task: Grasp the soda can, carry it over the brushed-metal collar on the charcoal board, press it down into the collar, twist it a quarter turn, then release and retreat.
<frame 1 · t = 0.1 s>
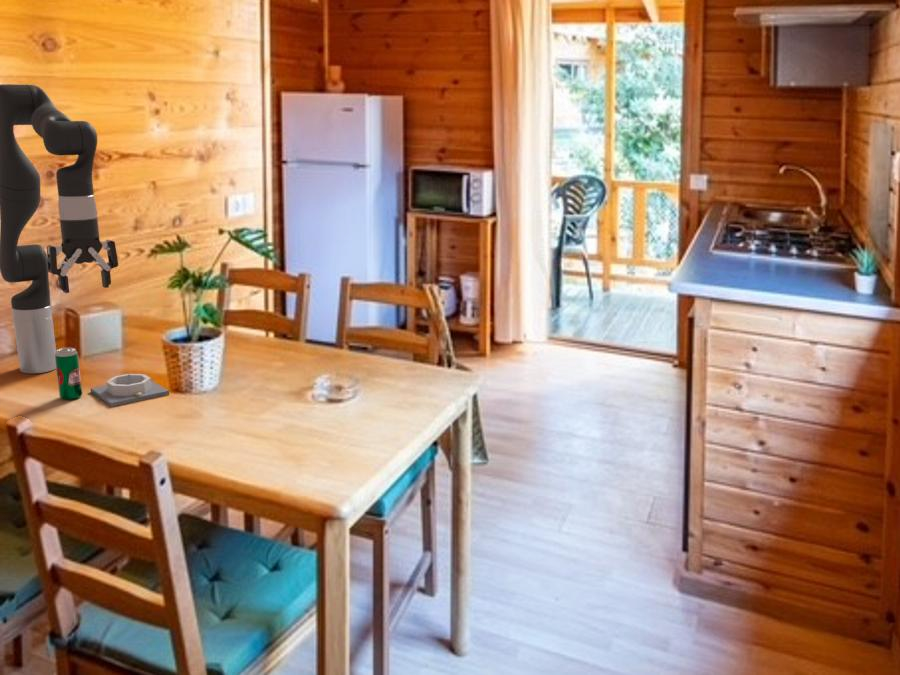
hand: (86, 289, 189), 29 cm above the table, fingers open, 8 cm apart
soda can: (71, 398, 207), on the table
lock board: (129, 393, 210), on the table
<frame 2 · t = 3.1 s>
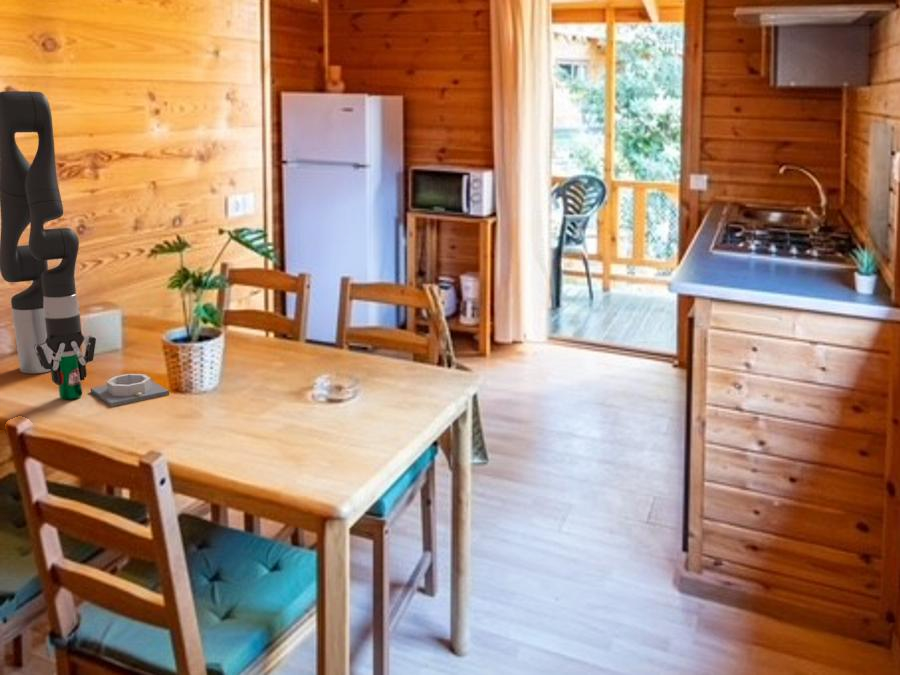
hand: (69, 381, 206), 4 cm above the table, fingers closed on soda can, 5 cm apart
soda can: (71, 398, 207), on the table, touching gripper
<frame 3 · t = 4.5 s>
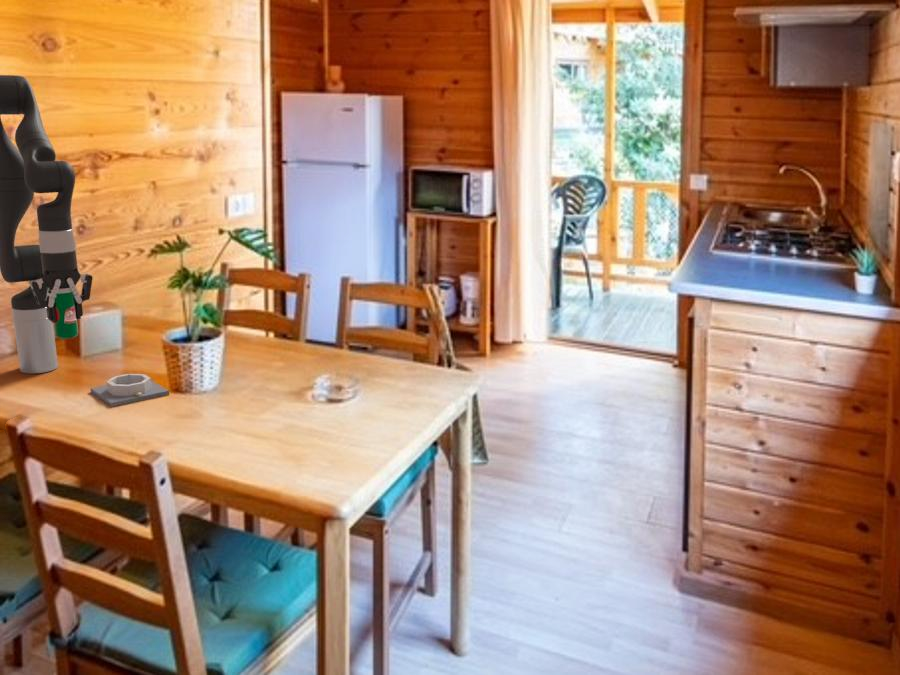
hand: (65, 319, 202), 19 cm above the table, fingers closed on soda can, 5 cm apart
soda can: (67, 337, 203), point 15 cm above the table, touching gripper
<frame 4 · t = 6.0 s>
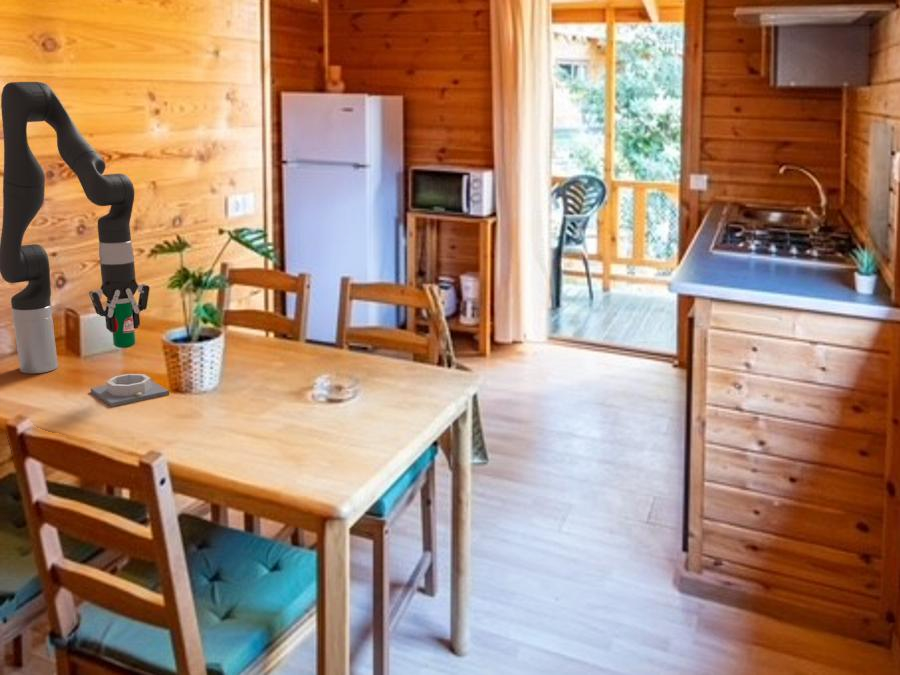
hand: (123, 329, 206), 16 cm above the table, fingers closed on soda can, 5 cm apart
soda can: (125, 346, 207), point 12 cm above the table, touching gripper
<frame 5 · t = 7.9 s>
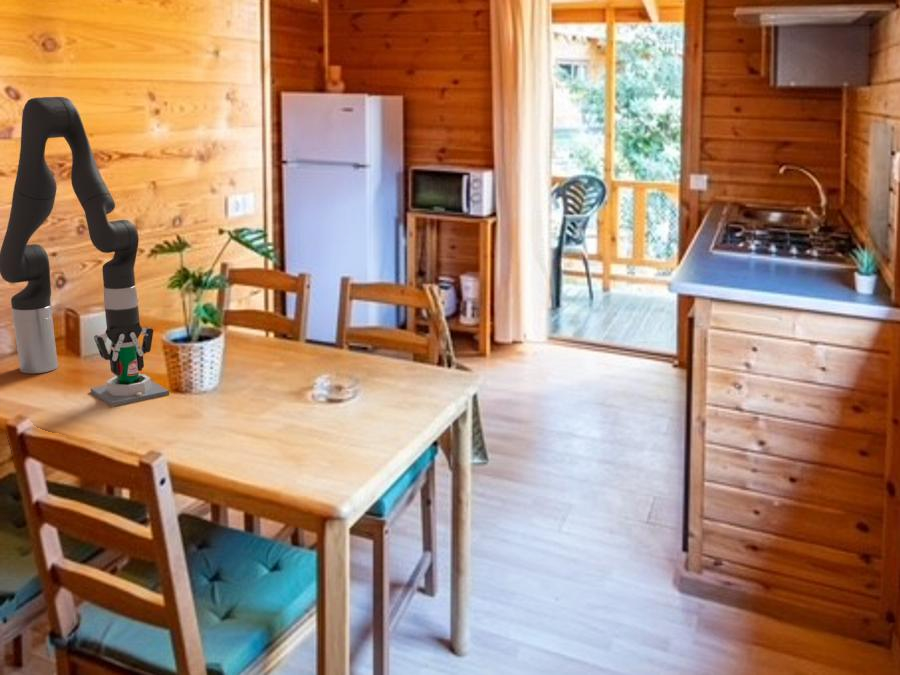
hand: (127, 372, 209), 5 cm above the table, fingers closed on soda can, 5 cm apart
soda can: (129, 388, 210), point 1 cm above the table, touching gripper
when the fingers open (5 cm above the table, at t = 9.4 s): soda can stays where it is, resting on lock board.
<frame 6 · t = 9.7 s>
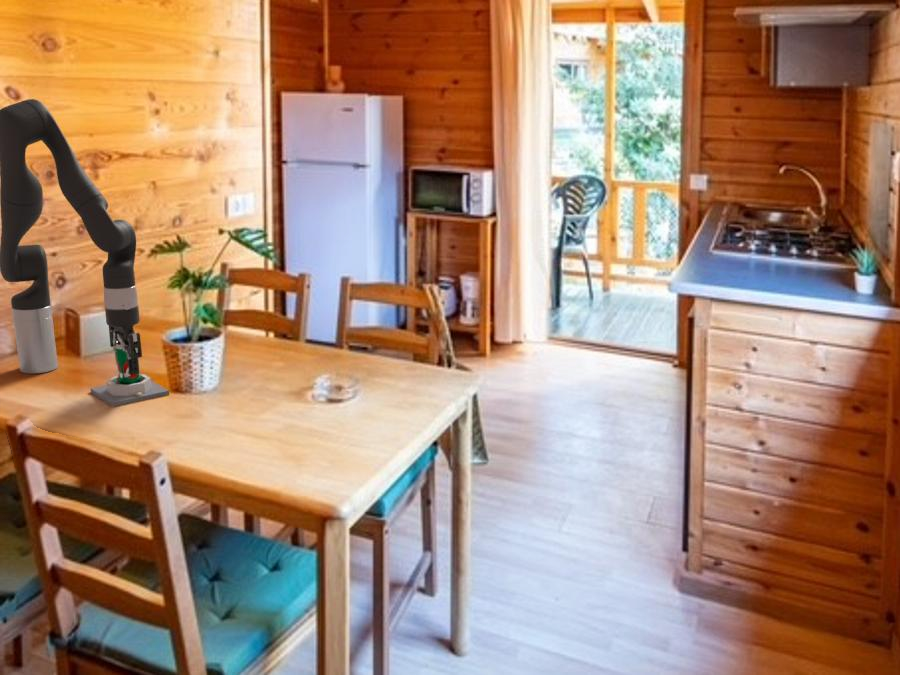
hand: (127, 369, 209), 6 cm above the table, fingers open, 8 cm apart
soda can: (130, 390, 210), point 1 cm above the table, touching lock board
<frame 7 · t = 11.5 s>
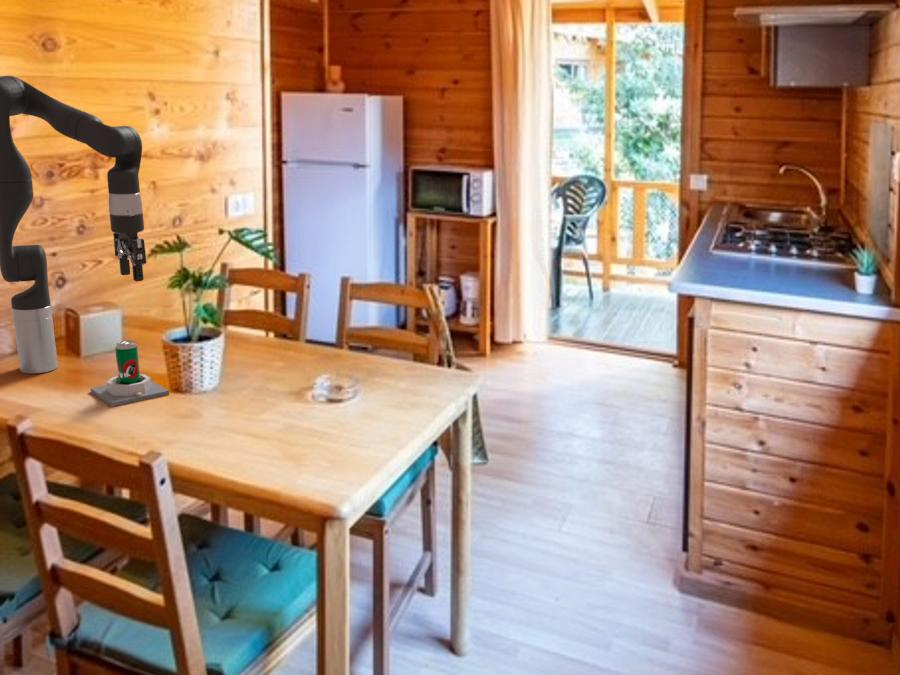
hand: (132, 277, 210), 28 cm above the table, fingers open, 8 cm apart
nothing on the table moved.
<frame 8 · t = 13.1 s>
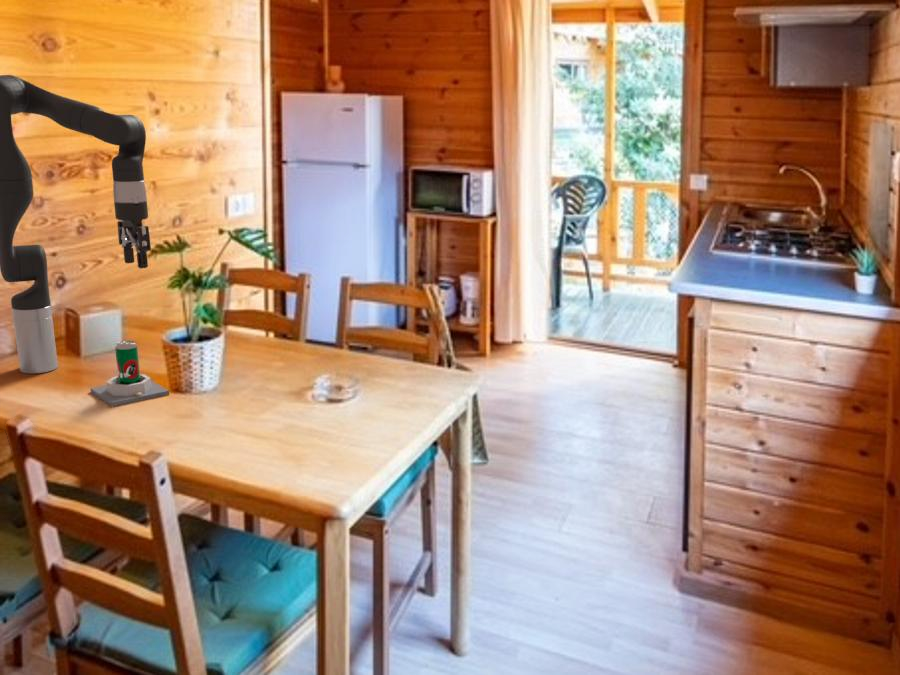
hand: (136, 265, 212), 30 cm above the table, fingers open, 8 cm apart
nothing on the table moved.
at the end: soda can 0.5 cm off-centre on the lock board, point 0.8 cm above the lock board's base; soda can tilted 0°; soda can touching lock board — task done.
